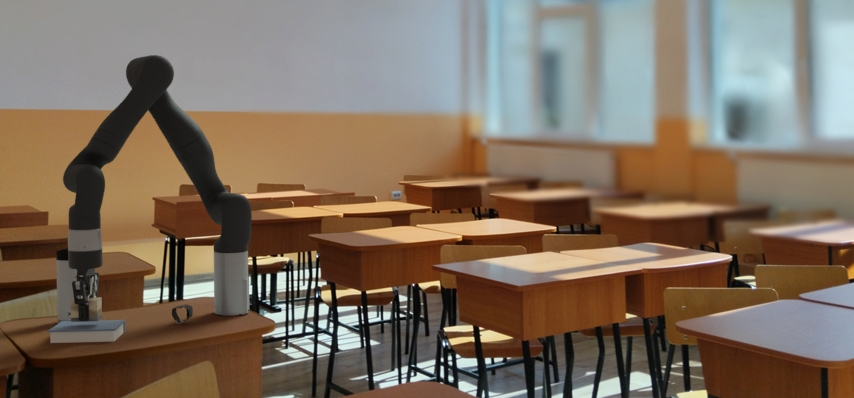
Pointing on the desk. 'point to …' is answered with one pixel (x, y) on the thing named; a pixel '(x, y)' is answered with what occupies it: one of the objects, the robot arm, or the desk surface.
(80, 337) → the textbook
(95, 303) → the tan wooden block
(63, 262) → the travel mug
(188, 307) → the wristwatch
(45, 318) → the desk surface
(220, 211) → the robot arm
